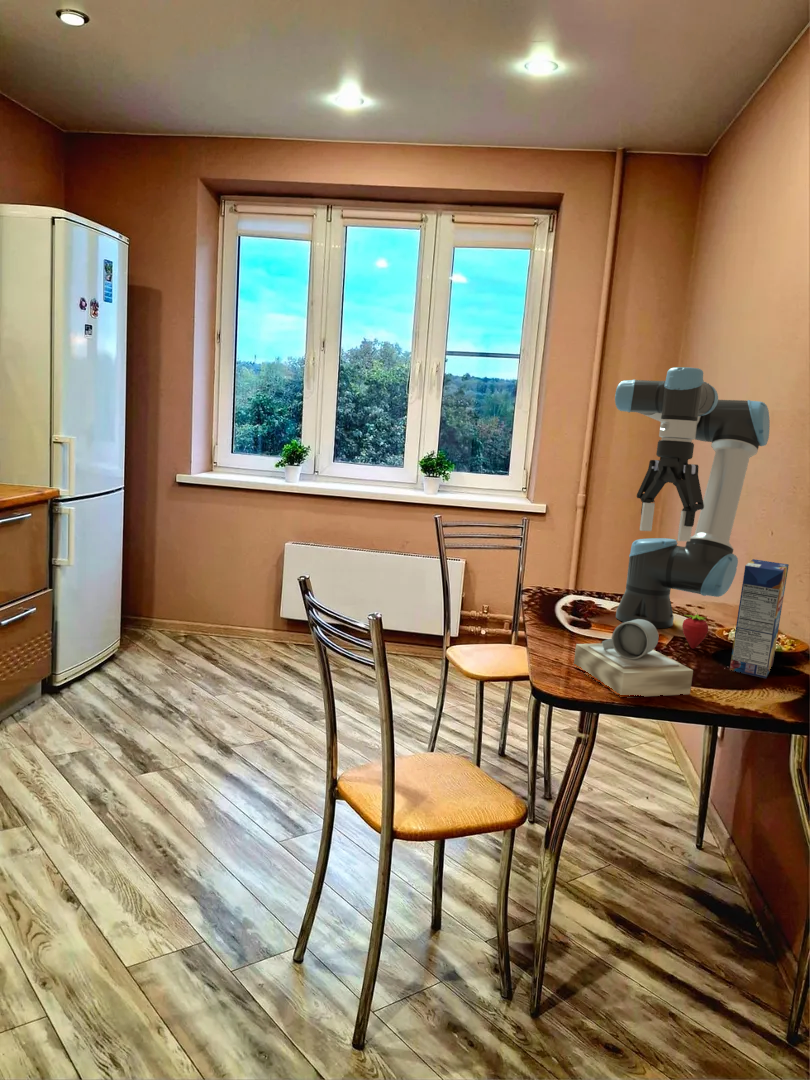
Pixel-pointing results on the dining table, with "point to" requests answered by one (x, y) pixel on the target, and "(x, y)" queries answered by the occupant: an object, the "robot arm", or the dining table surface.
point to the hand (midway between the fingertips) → (663, 535)
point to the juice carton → (758, 617)
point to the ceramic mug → (633, 639)
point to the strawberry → (694, 630)
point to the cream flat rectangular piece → (634, 671)
